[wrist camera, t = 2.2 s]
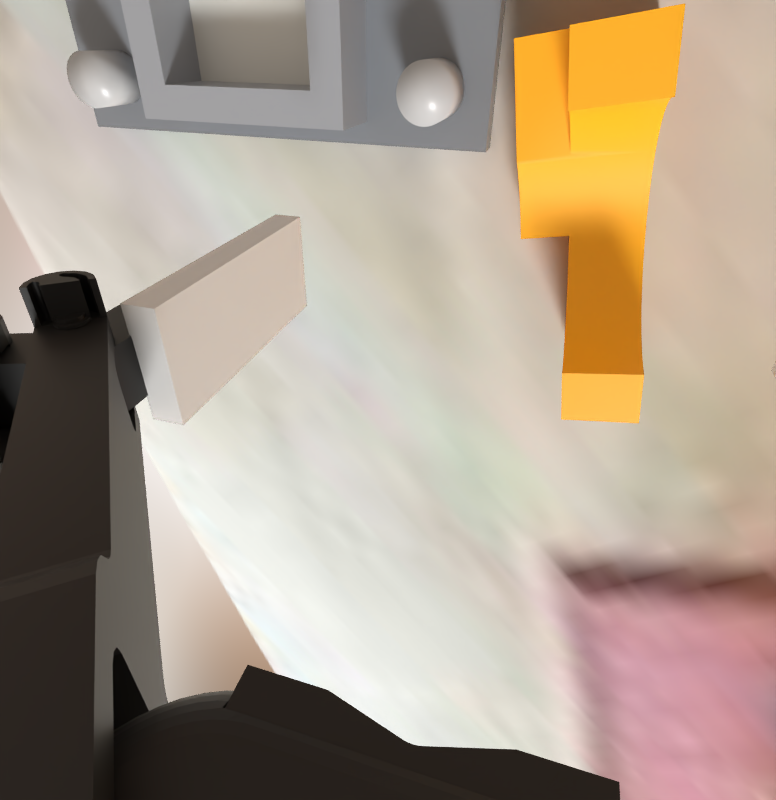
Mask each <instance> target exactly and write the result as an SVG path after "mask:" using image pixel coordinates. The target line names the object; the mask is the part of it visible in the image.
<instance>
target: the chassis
mask: <svg viewBox="0 0 776 800" xmlns="http://www.w3.org/2000/svg"><path fill="white" fill-rule="evenodd" d="M505 1H506V0H66V4H67V8H68V12H69V16H70V19H71V23H72V27H73V31H74V35H75V39H76V42H77V46H78V50H79V51H76V52H74V53H73V54H72V55H71V56H70V58H69V60H68V64H67V75H68V79H69V83H70V85H71V87H72V89H73V91H74V93H75V94H76V96H77V97H78V98H79V99H80V100H81V101H82V102H83V103H84V104H86V105H87V106H89V107H92V108H94V112H95V115H96V119H97V123H98V126H99V127H114V128H129V129H144V130H159V131H174V132H190V133H205V134H220V135H235V136H250V137H265V138H280V139H295V140H310V141H325V142H340V143H355V144H370V145H385V146H400V147H415V148H430V149H445V150H460V151H475V152H486V151H487V150H488V149H489V148H490V140H491V130H492V121H493V112H494V103H495V93H496V84H497V75H498V66H499V56H500V47H501V38H502V29H503V19H504V10H505Z"/></svg>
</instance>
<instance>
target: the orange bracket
mask: <svg viewBox="0 0 776 800" xmlns="http://www.w3.org/2000/svg"><path fill="white" fill-rule="evenodd" d="M684 11H685V4H680V5H675V6H669V7H664V8H659V9H653V10H648V11H642V12H637V13H632V14H626V15H621V16H615V17H610V18H605V19H599V20H594V21H588V22H583V23H578V24H572V25H570V28H568V29H563V30H557V31H552V32H546V33H541V34H535V35H530V36H524V37H519V38H514V62H515V106H516V150H517V168H518V179H519V193H520V216H521V239H527V238H544V237H560V236H569V256H568V283H567V306H566V326H565V343H564V358H563V370H562V407H561V419H564V420H585V421H605V422H626V423H639V416H640V407H641V398H642V389H643V380H644V370H643V361H642V341H641V302H642V275H643V258H644V243H645V231H646V220H647V210H648V201H649V192H650V184H651V177H652V170H653V163H654V157H655V151H656V145H657V140H658V135H659V130H660V126H661V122H662V118H663V115H664V112H665V109H666V106H667V104H668V101H669V100H670V98H671V97H675V92H676V83H677V74H678V65H679V56H680V47H681V38H682V29H683V20H684Z"/></svg>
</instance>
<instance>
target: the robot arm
mask: <svg viewBox="0 0 776 800" xmlns="http://www.w3.org/2000/svg"><path fill="white" fill-rule="evenodd" d="M19 290H20V292H21V295H22V297H23V300H24V302H25V305H26V307H27V310H28V312H29V315H30V318H31V320H32V323H33V325H34V332H33V333H20V334H19V333H18V334H9V331H8V329H7V327H6V324H5V322H4V320H3V317H2V316H1V315H0V800H620V789H619V782H617V781H614V780H611V779H608V778H605V777H601V776H598V775H595V774H592V773H589V772H586V771H582V770H579V769H576V768H573V767H570V766H567V765H563V764H560V763H557V762H554V761H551V760H548V759H544V758H541V757H538V756H535V755H532V754H529V753H525V752H522V751H519V750H511V749H484V748H456V747H429V746H417V745H413V744H410V743H408V742H406V741H404V740H402V739H401V738H399V737H398V736H396V735H395V734H393V733H392V732H390V731H389V730H387V729H386V728H384V727H383V726H381V725H380V724H378V723H377V722H375V721H374V720H372V719H371V718H369V717H368V716H366V715H365V714H363V713H362V712H360V711H359V710H357V709H356V708H354V707H353V706H351V705H350V704H348V703H347V702H345V701H343V700H342V699H340V698H339V697H337V696H336V695H334V694H333V693H331V692H330V691H328V690H326V689H323V688H320V687H316V686H313V685H310V684H307V683H304V682H301V681H297V680H294V679H291V678H288V677H285V676H282V675H278V674H275V673H272V672H269V671H265V670H262V669H259V668H256V667H253V666H250V665H247V667H246V669H245V671H244V673H243V675H242V677H241V679H240V680H239V682H238V684H237V686H236V688H235V690H234V691H219V692H209V693H203V694H198V695H194V696H190V697H186V698H181V699H178V700H176V701H173V702H170V703H168V701H167V697H166V693H165V687H164V679H163V672H162V671H163V670H162V659H161V649H160V639H159V627H158V617H157V606H156V596H155V584H154V574H153V563H152V553H151V541H150V530H149V519H148V509H147V498H146V487H145V477H144V466H143V456H142V444H141V433H140V423H139V418H138V414H137V411H136V408H135V406H136V405H137V404H138V403H139V402H140V401H142V400H143V399H144V398H145V397H147V398H148V402H149V405H150V409H151V412H152V416H153V419H156V420H161V421H166V422H170V423H175V424H180V425H184V424H185V423H186V422H187V421H188V420H189V419H190V418H191V417H192V416H193V415H194V414H196V413H197V412H198V411H199V410H200V409H201V408H202V407H203V406H204V405H205V404H206V403H207V402H208V401H209V400H210V399H211V398H212V397H213V396H214V395H215V394H216V393H217V392H218V391H219V390H220V389H221V388H222V387H223V386H224V385H225V384H226V383H227V382H229V381H230V380H231V379H232V378H233V377H234V376H235V375H236V374H237V373H238V372H239V371H240V370H241V369H242V368H243V367H244V366H245V365H246V364H247V363H248V362H249V361H250V360H251V359H252V358H253V357H254V356H255V355H256V354H257V353H258V352H259V351H260V350H262V349H263V348H264V347H265V346H266V345H267V344H268V343H269V342H270V341H271V340H272V339H273V338H274V337H275V336H276V335H277V334H278V333H279V332H280V331H281V330H282V329H283V328H284V327H285V326H286V325H287V324H288V323H289V322H290V321H291V320H292V319H293V318H295V317H296V316H297V315H298V314H299V313H300V312H301V311H302V310H303V309H304V308H305V307H306V306H307V302H306V289H305V277H304V264H303V251H302V239H301V226H300V217H295V216H284V215H274V216H272V217H271V218H269V219H267V220H265V221H264V222H262V223H260V224H258V225H257V226H255V227H253V228H251V229H250V230H248V231H246V232H244V233H243V234H241V235H239V236H237V237H236V238H234V239H232V240H230V241H229V242H227V243H225V244H223V245H222V246H220V247H218V248H216V249H215V250H213V251H211V252H210V253H208V254H206V255H204V256H203V257H201V258H199V259H197V260H196V261H194V262H192V263H190V264H189V265H187V266H185V267H183V268H182V269H180V270H178V271H176V272H175V273H173V274H171V275H169V276H168V277H166V278H164V279H162V280H161V281H159V282H157V283H155V284H154V285H152V286H150V287H148V288H147V289H145V290H143V291H141V292H140V293H138V294H136V295H134V296H133V297H131V298H129V299H127V300H126V301H124V302H122V303H120V305H118V306H117V307H115V308H113V309H111V310H110V311H108V312H106V310H105V307H104V304H103V300H102V297H101V294H100V291H99V287H98V284H97V281H96V278H95V276H94V275H93V274H91V273H88V272H83V271H62V272H55V273H49V274H45V275H41V276H38V277H35V278H32V279H30V280H28V281H26V282H24V283H23V284H22V285H21V286H20V287H19ZM772 372H773V374H774V376H775V378H776V362H775V364H774V366H773V368H772Z"/></svg>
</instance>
